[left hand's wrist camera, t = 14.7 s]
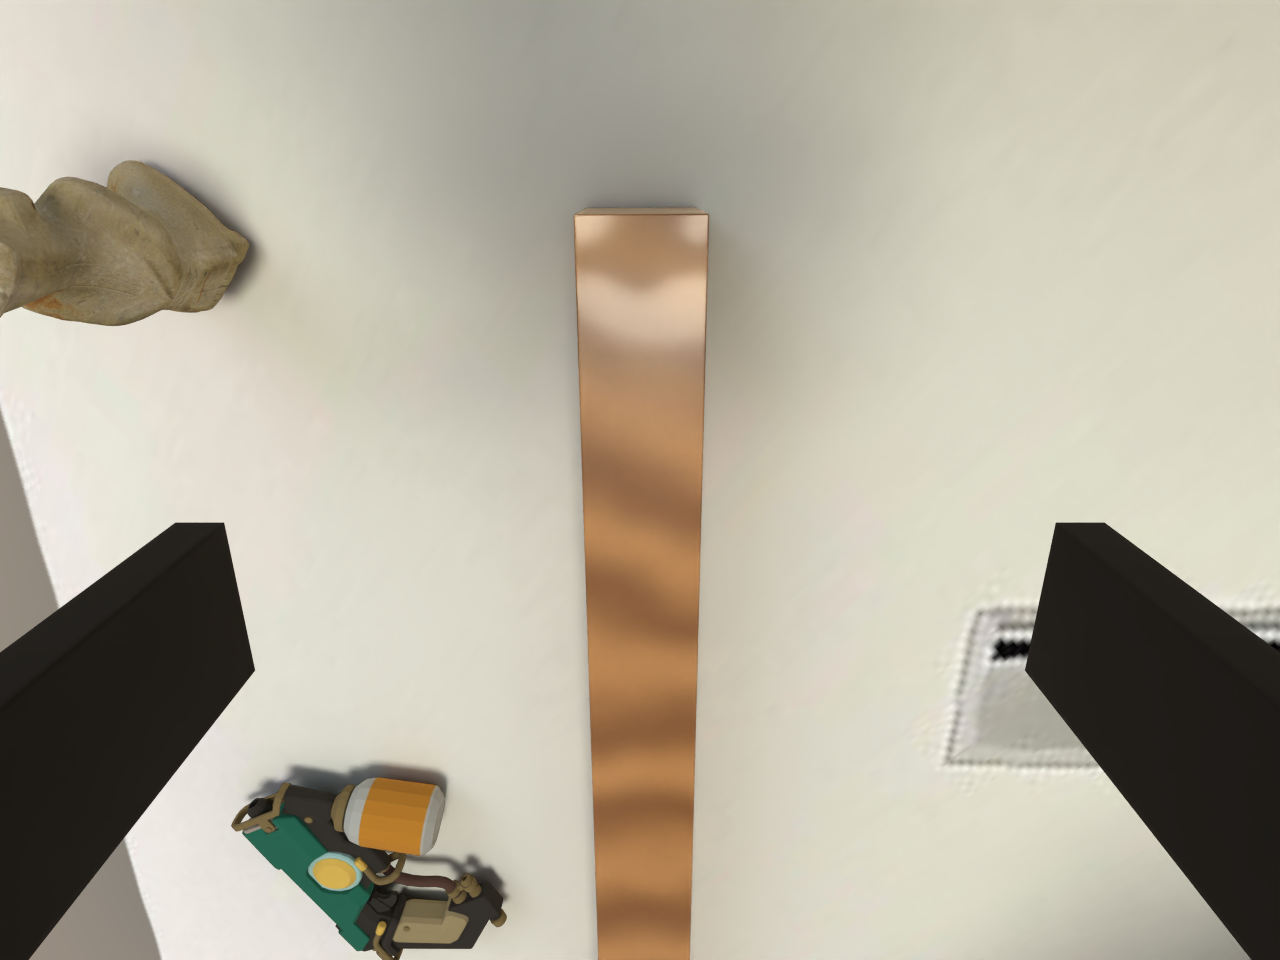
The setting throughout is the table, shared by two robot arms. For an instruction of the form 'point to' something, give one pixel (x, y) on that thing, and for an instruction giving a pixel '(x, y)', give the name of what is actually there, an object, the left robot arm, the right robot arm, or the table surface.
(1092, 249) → the table surface
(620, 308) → the beam
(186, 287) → the sculpture
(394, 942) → the spray gun
